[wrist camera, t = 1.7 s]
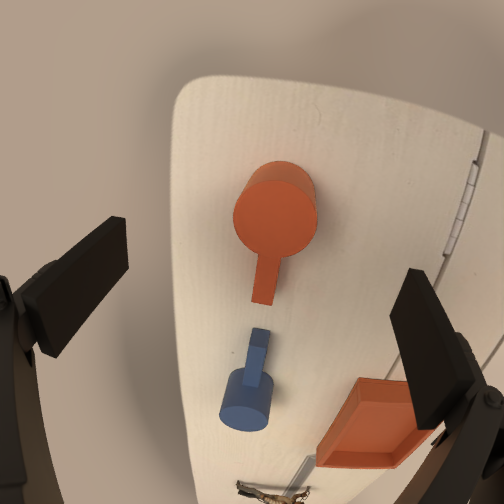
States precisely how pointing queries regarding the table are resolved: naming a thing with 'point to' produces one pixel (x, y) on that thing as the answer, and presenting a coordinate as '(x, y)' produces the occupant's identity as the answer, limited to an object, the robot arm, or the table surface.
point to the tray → (372, 428)
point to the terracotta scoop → (275, 220)
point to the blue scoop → (249, 389)
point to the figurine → (270, 496)
